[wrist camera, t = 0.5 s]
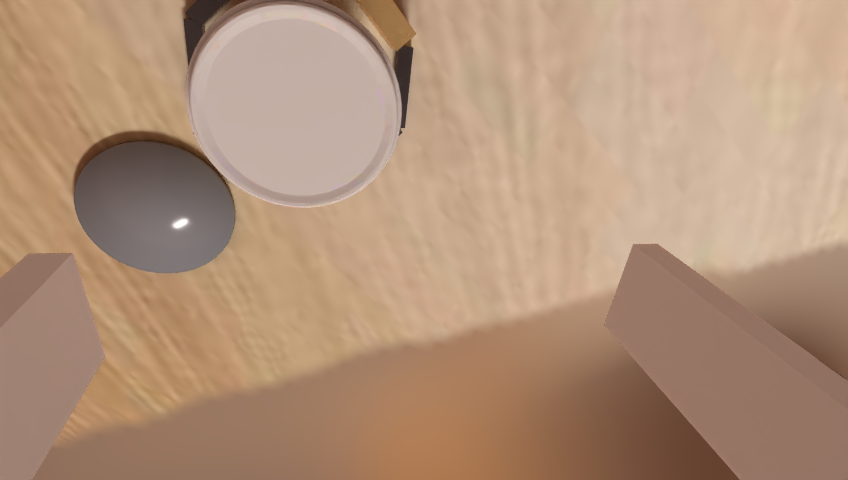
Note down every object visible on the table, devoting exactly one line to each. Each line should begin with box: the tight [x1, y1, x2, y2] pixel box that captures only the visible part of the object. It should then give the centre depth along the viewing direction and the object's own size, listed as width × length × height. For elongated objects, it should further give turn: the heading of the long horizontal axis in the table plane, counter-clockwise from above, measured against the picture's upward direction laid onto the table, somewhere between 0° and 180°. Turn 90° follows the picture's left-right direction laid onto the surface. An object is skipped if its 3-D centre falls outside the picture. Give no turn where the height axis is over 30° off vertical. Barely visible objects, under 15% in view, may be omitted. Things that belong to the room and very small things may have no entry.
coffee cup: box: [186, 0, 402, 208], centre depth 24 cm, size 9×9×12 cm
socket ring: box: [184, 0, 416, 135], centre depth 28 cm, size 14×14×2 cm
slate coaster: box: [74, 141, 235, 273], centre depth 31 cm, size 10×10×1 cm
